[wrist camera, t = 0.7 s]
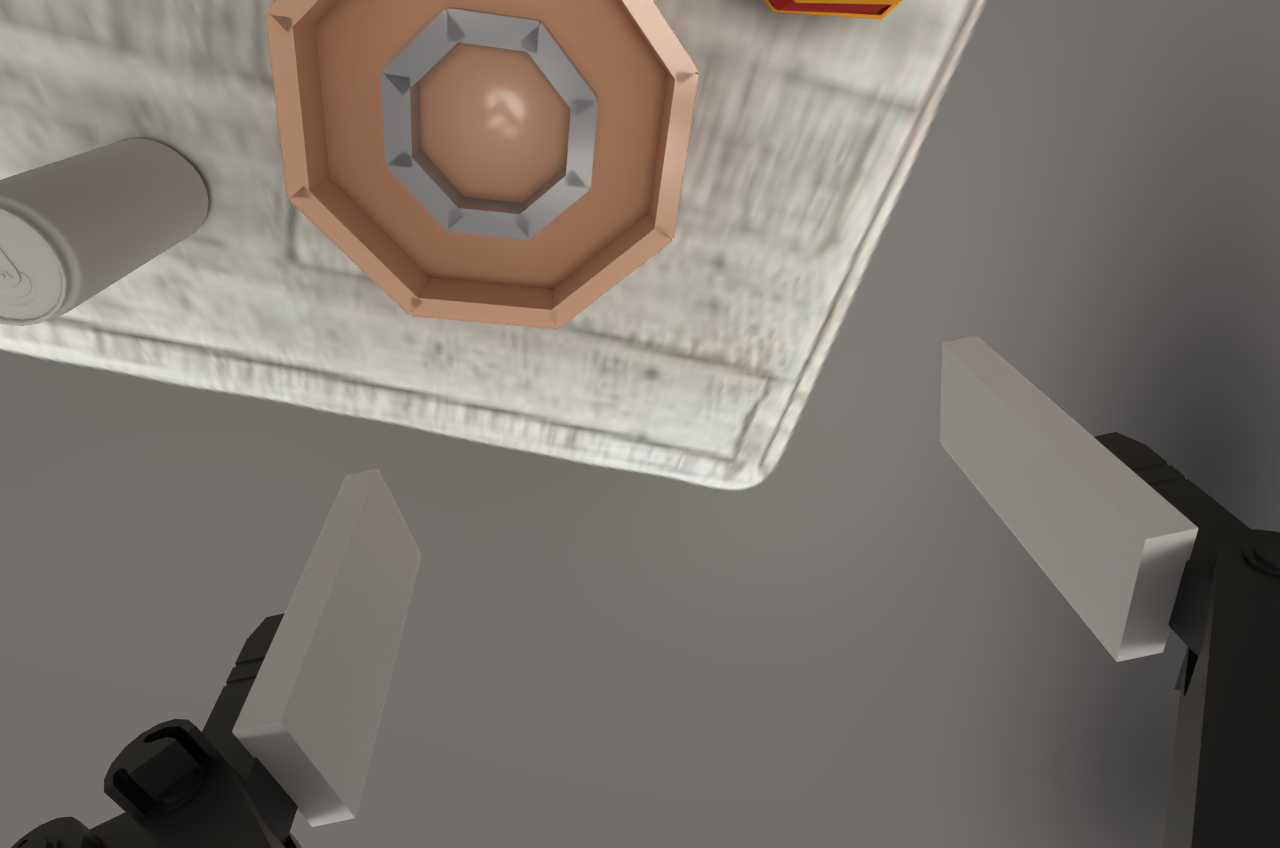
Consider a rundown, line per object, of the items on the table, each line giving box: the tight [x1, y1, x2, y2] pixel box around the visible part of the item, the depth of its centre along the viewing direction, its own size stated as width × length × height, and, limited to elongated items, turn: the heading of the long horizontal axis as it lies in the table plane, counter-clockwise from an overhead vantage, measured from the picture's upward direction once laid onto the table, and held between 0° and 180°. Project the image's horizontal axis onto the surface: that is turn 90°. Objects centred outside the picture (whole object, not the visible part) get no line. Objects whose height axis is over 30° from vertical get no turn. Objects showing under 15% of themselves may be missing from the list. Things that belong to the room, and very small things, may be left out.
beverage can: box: [0, 138, 209, 326], centre depth 30 cm, size 5×5×12 cm
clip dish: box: [266, 0, 699, 329], centre depth 33 cm, size 18×18×4 cm
